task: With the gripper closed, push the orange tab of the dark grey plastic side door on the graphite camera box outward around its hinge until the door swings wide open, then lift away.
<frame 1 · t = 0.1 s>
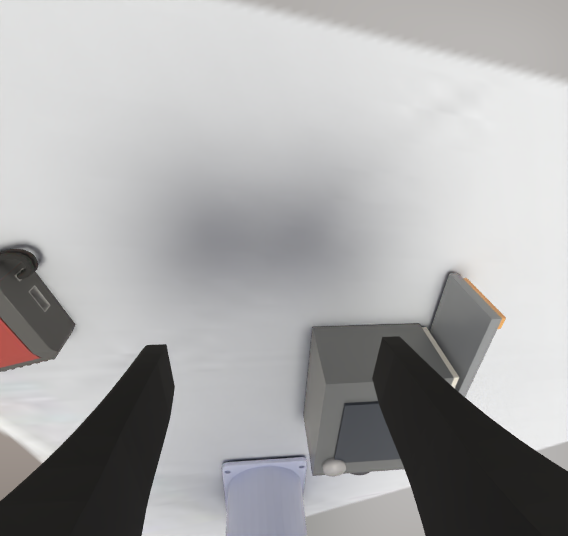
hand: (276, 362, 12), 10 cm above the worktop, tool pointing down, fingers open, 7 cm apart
side door: (443, 376, 24), point 3 cm above the worktop, hinge at 0.0°
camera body: (359, 373, 27), on the worktop
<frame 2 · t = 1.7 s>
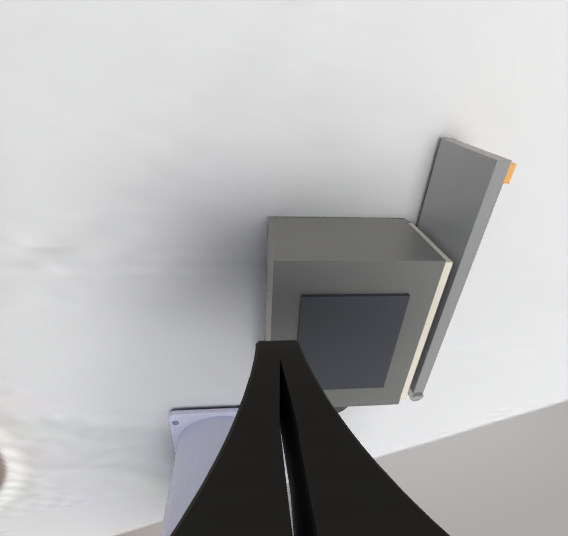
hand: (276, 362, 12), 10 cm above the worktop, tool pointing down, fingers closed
side door: (432, 281, 19), point 3 cm above the worktop, hinge at 0.0°
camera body: (331, 289, 22), on the worktop
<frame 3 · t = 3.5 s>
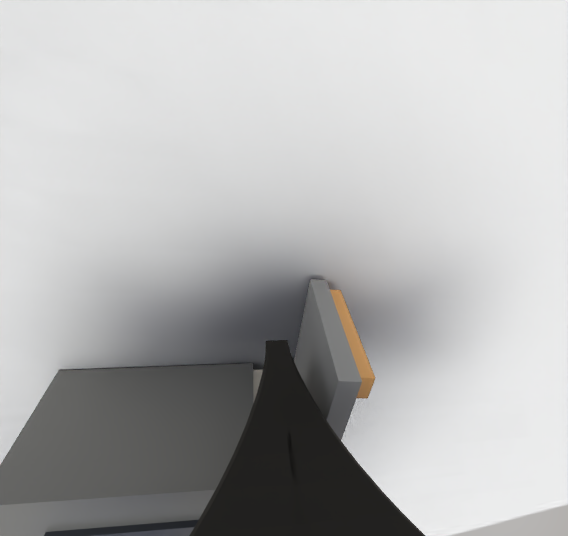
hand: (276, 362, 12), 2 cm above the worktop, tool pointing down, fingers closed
side door: (301, 456, 14), point 3 cm above the worktop, hinge at 5.3°, touching gripper
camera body: (178, 437, 17), on the worktop
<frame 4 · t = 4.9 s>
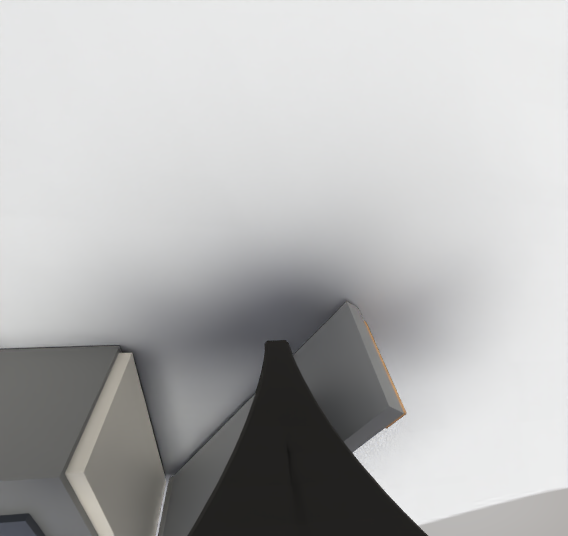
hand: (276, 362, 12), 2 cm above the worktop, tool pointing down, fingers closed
side door: (251, 460, 14), point 3 cm above the worktop, hinge at 34.7°, touching gripper
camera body: (58, 428, 16), on the worktop
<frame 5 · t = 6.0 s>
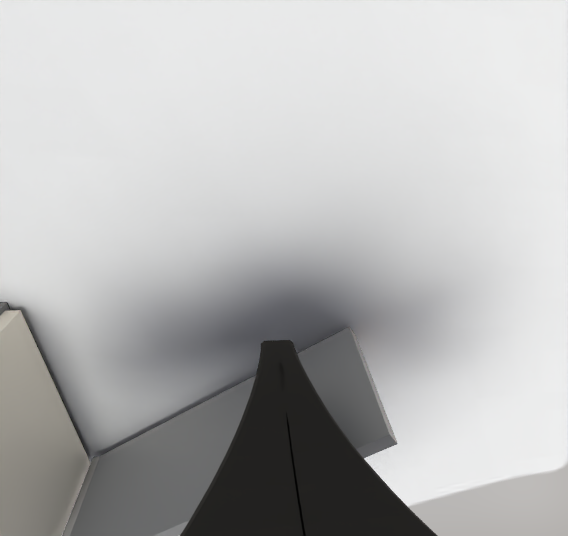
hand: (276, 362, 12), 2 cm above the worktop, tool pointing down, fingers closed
side door: (208, 456, 13), point 3 cm above the worktop, hinge at 55.4°, touching gripper
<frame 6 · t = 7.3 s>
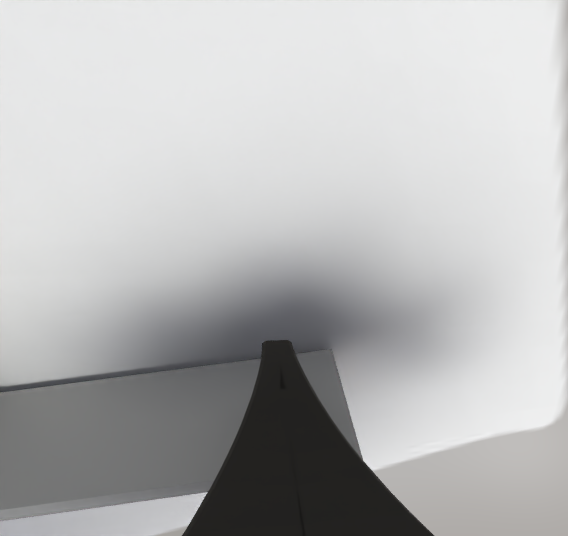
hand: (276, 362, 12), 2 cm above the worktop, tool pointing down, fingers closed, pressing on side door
side door: (147, 431, 12), point 3 cm above the worktop, hinge at 82.5°, touching gripper
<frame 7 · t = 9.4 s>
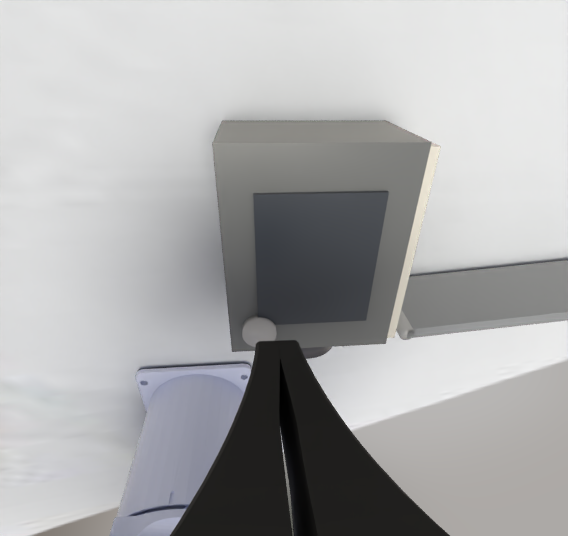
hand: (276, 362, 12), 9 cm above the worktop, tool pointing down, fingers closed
side door: (505, 296, 20), point 3 cm above the worktop, hinge at 85.4°
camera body: (305, 217, 19), on the worktop
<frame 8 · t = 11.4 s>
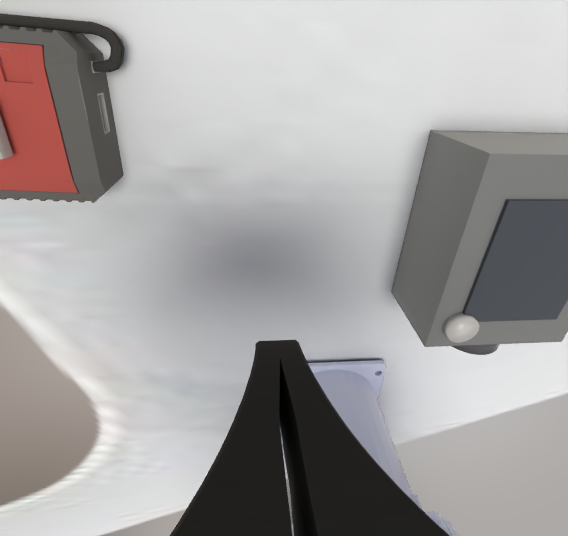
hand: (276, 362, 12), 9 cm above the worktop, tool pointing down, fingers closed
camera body: (476, 221, 20), on the worktop
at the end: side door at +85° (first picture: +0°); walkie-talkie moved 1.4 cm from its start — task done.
